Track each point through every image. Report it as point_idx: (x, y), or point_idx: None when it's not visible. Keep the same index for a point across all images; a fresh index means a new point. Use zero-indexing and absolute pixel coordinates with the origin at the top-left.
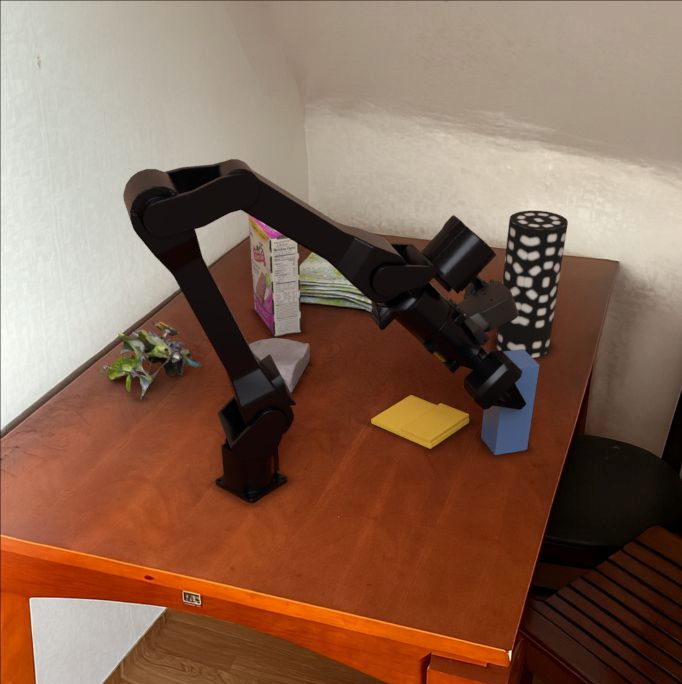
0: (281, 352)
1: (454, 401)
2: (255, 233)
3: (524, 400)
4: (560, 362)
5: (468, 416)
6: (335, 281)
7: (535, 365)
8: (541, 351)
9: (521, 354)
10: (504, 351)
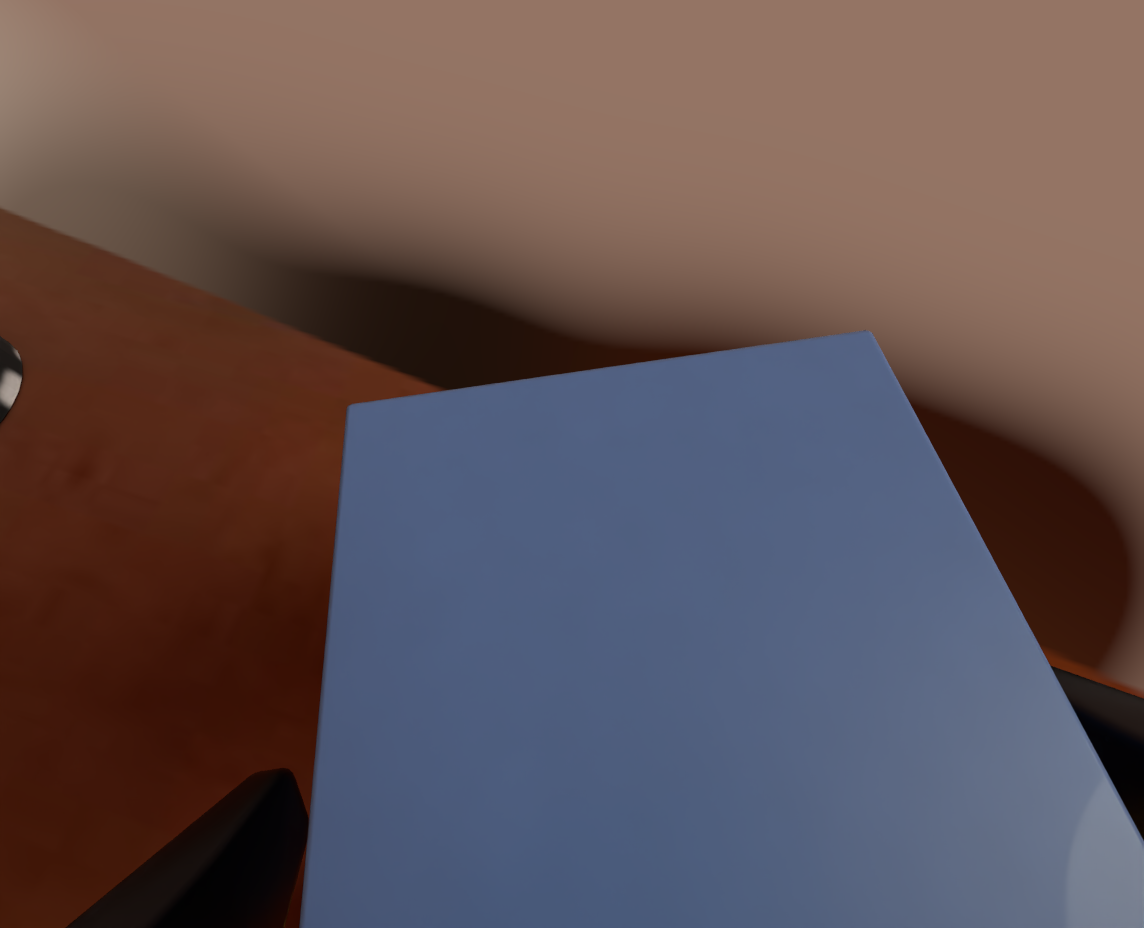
0: None
1: None
2: None
3: (1104, 686)
4: (103, 328)
5: None
6: None
7: (888, 378)
8: (4, 360)
9: (514, 473)
10: (324, 746)
